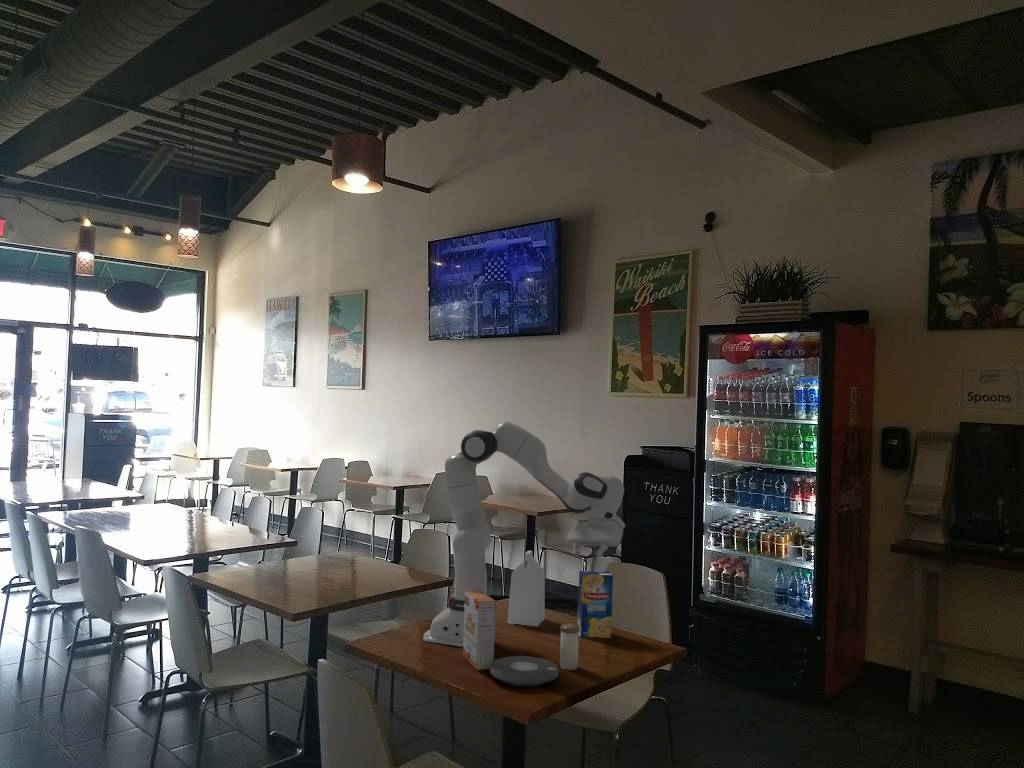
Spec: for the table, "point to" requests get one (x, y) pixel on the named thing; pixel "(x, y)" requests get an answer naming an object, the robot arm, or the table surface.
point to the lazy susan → (524, 670)
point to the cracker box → (479, 629)
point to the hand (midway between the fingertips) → (586, 555)
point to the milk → (527, 593)
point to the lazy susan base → (522, 684)
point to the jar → (569, 646)
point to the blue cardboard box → (595, 604)
